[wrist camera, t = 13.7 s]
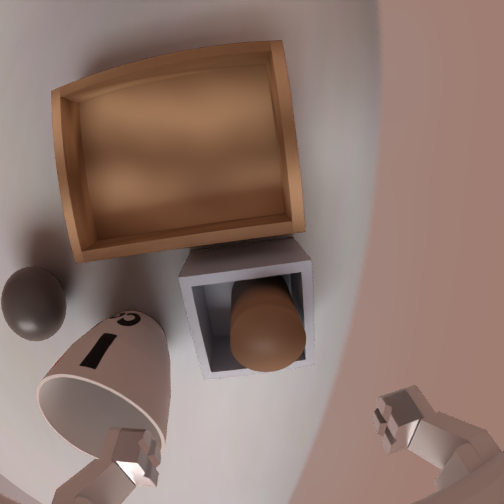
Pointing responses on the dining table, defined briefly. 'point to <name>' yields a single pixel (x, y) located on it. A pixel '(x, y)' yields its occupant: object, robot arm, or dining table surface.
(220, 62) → the oak tray
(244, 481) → the dining table surface
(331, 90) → the dining table surface
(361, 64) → the dining table surface
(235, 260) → the pen pot
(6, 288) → the dark gray ball
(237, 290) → the walnut peg
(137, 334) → the cup
